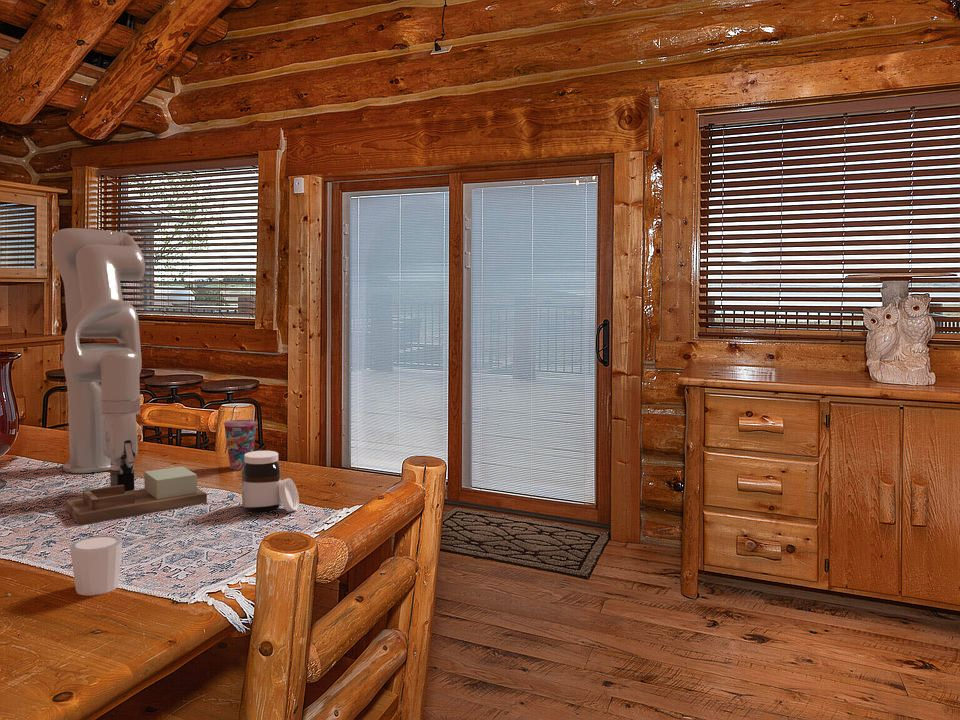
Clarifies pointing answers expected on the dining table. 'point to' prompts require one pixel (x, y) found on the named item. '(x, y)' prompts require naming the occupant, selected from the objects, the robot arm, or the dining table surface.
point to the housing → (124, 503)
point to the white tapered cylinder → (96, 564)
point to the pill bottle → (115, 472)
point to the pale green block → (170, 482)
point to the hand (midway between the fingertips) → (122, 487)
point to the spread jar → (266, 484)
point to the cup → (239, 440)
